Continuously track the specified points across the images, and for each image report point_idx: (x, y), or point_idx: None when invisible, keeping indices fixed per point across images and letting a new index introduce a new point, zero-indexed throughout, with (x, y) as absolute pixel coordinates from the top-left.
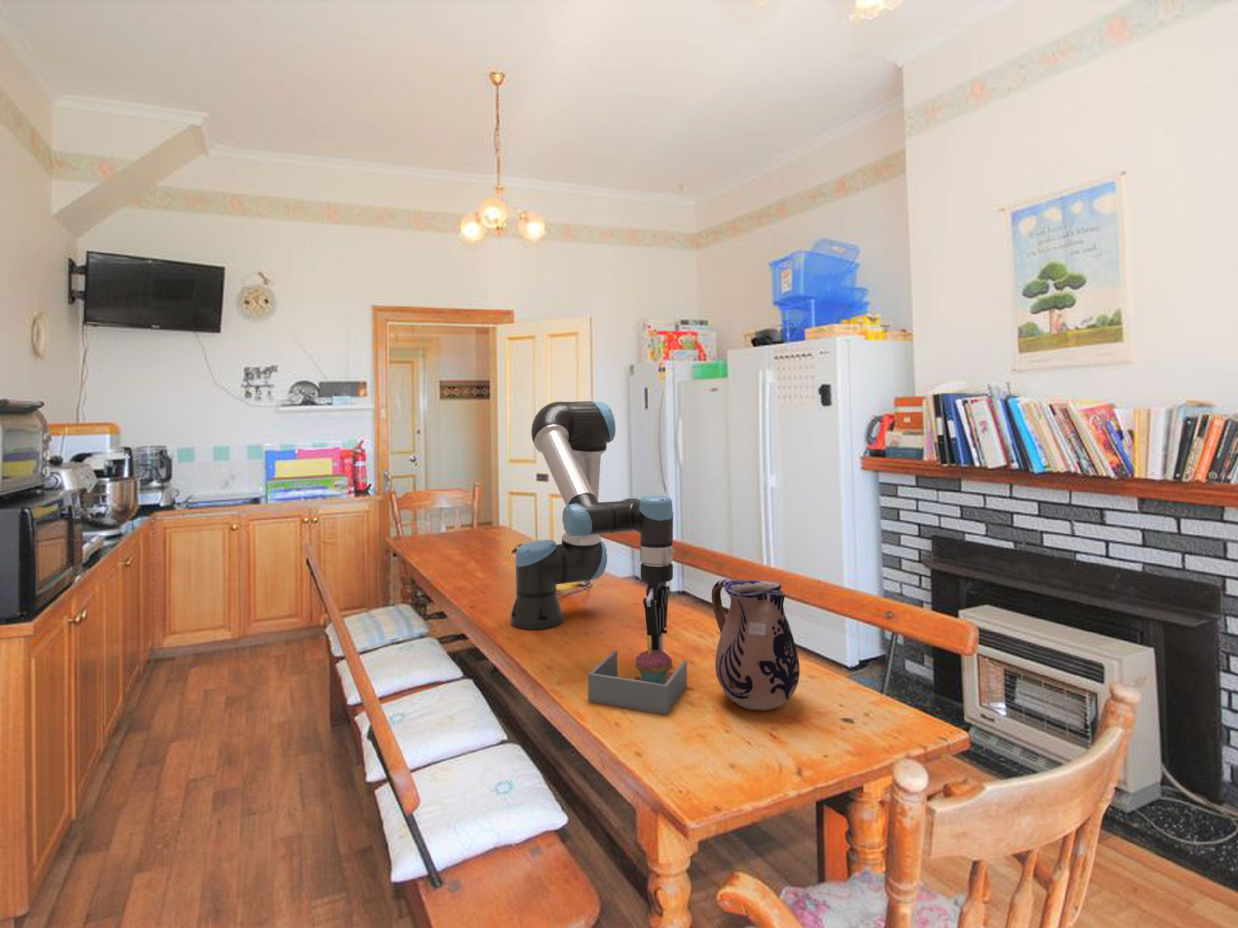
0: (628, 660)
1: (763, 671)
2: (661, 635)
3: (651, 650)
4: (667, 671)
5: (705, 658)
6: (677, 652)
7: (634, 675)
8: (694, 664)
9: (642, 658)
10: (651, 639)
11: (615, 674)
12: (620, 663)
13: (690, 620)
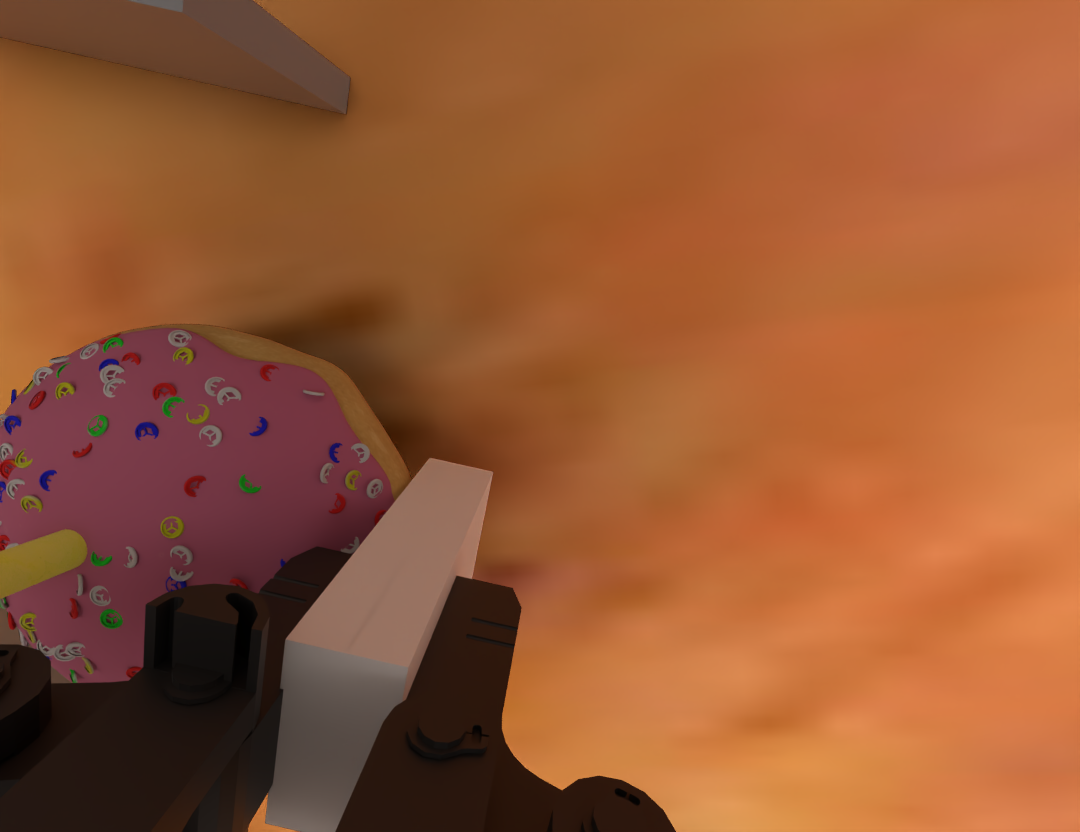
0: (779, 157)
1: None
2: (303, 818)
3: (211, 556)
4: None
5: (859, 814)
6: (1009, 610)
7: (405, 280)
8: (721, 739)
9: (11, 447)
10: (324, 601)
11: (279, 93)
12: (686, 80)
13: None
